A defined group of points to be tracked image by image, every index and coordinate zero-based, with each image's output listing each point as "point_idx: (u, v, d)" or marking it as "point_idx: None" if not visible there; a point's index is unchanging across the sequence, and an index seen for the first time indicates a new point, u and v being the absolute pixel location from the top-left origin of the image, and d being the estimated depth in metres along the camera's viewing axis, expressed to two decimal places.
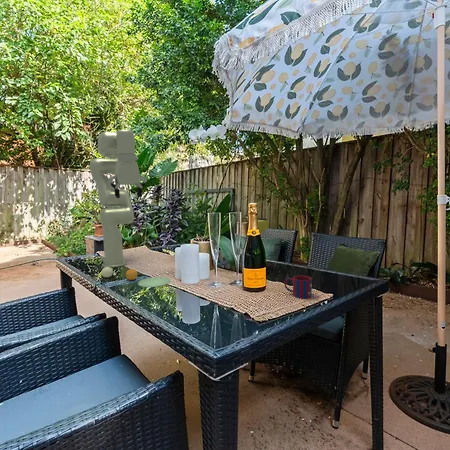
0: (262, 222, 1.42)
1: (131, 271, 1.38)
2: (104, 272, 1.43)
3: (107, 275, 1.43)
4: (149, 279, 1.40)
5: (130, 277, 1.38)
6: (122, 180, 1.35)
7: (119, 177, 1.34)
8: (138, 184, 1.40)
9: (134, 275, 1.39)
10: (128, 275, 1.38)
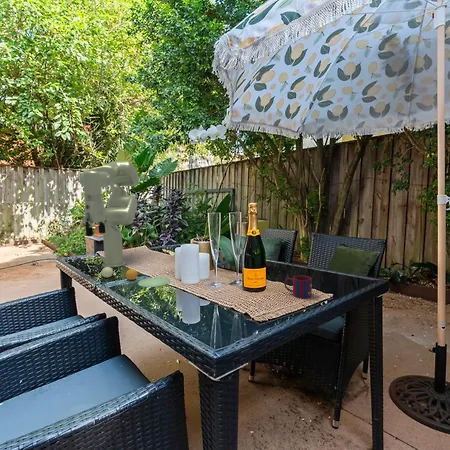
0: (262, 222, 1.42)
1: (131, 271, 1.38)
2: (104, 272, 1.43)
3: (107, 275, 1.43)
4: (149, 279, 1.40)
5: (130, 277, 1.38)
6: None
7: None
8: None
9: (134, 275, 1.39)
10: (128, 275, 1.38)
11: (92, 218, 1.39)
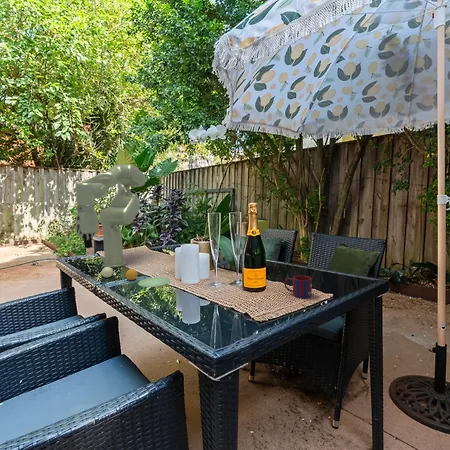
0: (262, 222, 1.42)
1: (131, 271, 1.38)
2: (104, 272, 1.43)
3: (107, 275, 1.43)
4: (149, 279, 1.40)
5: (130, 277, 1.38)
6: None
7: None
8: None
9: (134, 275, 1.39)
10: (128, 275, 1.38)
11: (82, 229, 1.41)
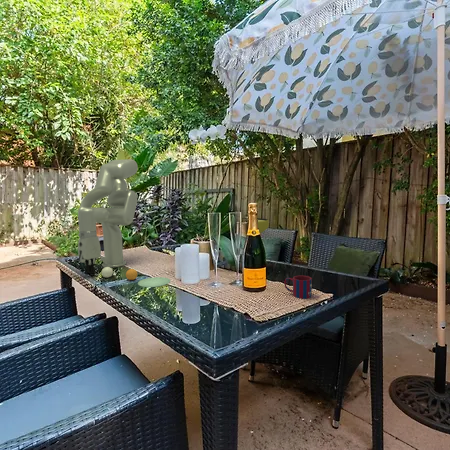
0: (262, 222, 1.42)
1: (131, 271, 1.38)
2: (104, 272, 1.43)
3: (107, 275, 1.43)
4: (149, 279, 1.40)
5: (130, 277, 1.38)
6: None
7: None
8: (85, 259, 1.47)
9: (134, 275, 1.39)
10: (128, 275, 1.38)
11: (84, 255, 1.42)
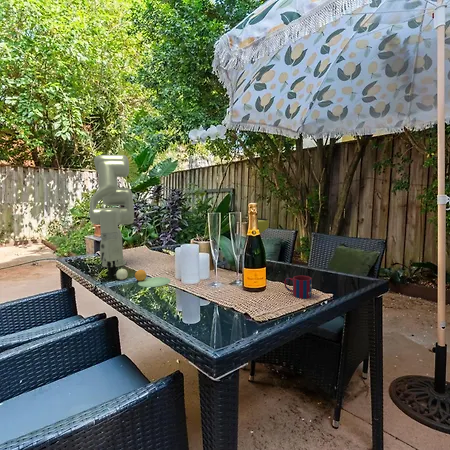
0: (262, 222, 1.42)
1: (141, 279, 1.37)
2: (117, 276, 1.39)
3: (117, 272, 1.40)
4: (149, 279, 1.40)
5: (136, 277, 1.37)
6: None
7: None
8: None
9: (138, 280, 1.38)
10: (137, 277, 1.36)
11: (107, 257, 1.38)
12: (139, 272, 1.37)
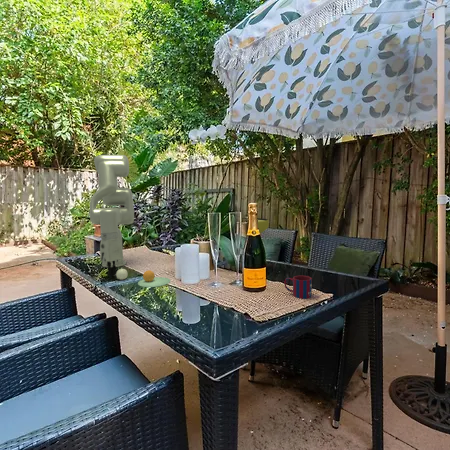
0: (262, 222, 1.42)
1: None
2: (117, 276, 1.39)
3: (117, 272, 1.40)
4: None
5: (144, 274, 1.35)
6: None
7: None
8: None
9: None
10: (145, 277, 1.35)
11: (107, 257, 1.38)
12: (150, 279, 1.35)
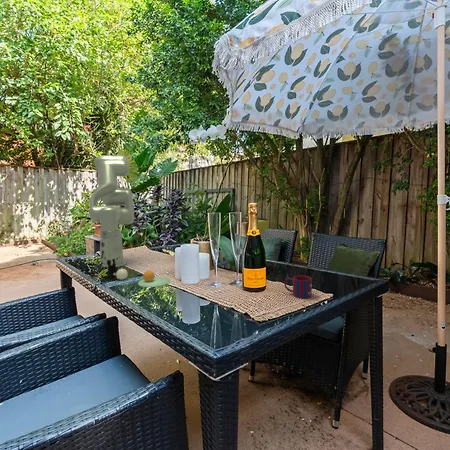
0: (262, 222, 1.42)
1: None
2: (117, 276, 1.39)
3: (117, 272, 1.40)
4: None
5: (144, 274, 1.35)
6: None
7: None
8: None
9: None
10: (145, 277, 1.35)
11: (107, 256, 1.38)
12: (150, 279, 1.35)
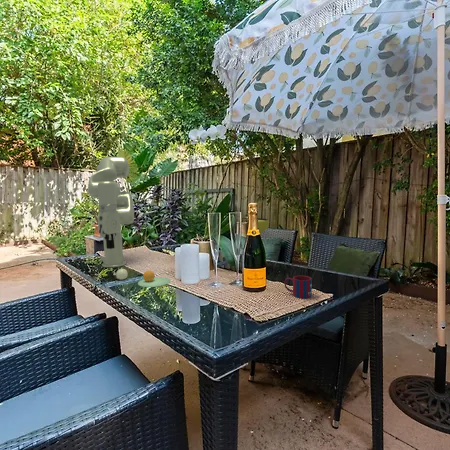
0: (262, 222, 1.42)
1: None
2: (117, 276, 1.39)
3: (117, 272, 1.40)
4: None
5: (144, 274, 1.35)
6: None
7: None
8: None
9: None
10: (145, 277, 1.35)
11: (105, 229, 1.36)
12: (150, 279, 1.35)
